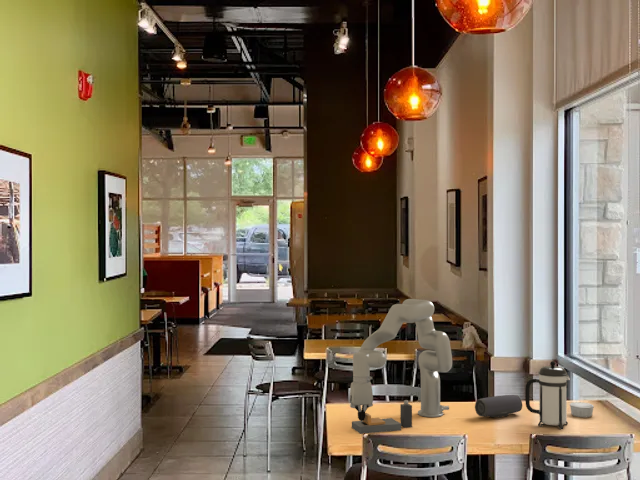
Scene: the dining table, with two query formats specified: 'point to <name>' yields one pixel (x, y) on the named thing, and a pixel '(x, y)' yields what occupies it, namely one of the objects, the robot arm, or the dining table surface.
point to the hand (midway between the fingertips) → (361, 419)
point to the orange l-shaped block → (372, 420)
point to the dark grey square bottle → (406, 414)
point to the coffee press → (550, 395)
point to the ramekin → (581, 409)
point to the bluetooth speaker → (498, 405)
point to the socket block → (376, 426)
